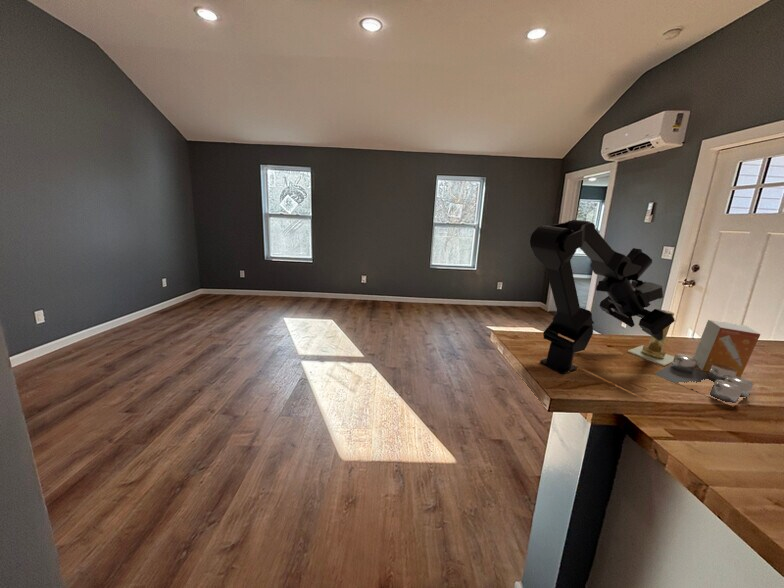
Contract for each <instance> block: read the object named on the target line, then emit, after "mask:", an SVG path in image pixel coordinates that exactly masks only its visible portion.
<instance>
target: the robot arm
mask: <svg viewBox="0 0 784 588" xmlns="http://www.w3.org/2000/svg"><path fill="white" fill-rule="evenodd" d="M529 244H530V248H531V250H532V252H533V254H534V256H535V258H537V259H538V261H539V262H540V263H542V265H543V266H544V267H545V270H546V272H547V273H546V274H547V279H548V281H549V286H550V289H551V292H552V297H553V300H554V304H555V307H556V308H555V309H556V312H555V314H554V316H553V317H552V321H551V323H550V324H548V326H547V327H546V329H544V331H543V332H542V333H543V340H547V341H549V342H550V344H549V348H548V351H547V352H548V353H547V356H546V358H543V359H541V360H539V363H541V364H543V365H544V366H546V367H547V368H550V369H552V370H553V371H556V372H557V371H558V372H557V373H559V372H560V374H561V373H564V374H566V373H565V372H567V373H569V372H568V371H570V372H572V371H571V370H573V371H575V370H577V368H578V366H576V365H574V364H573V361H574V356H575V354H576V353H577V352H582V351H586V348H587V346H588V344H589V342H590V340H591V338H592V337H593V334H594V329H593V328H594V326H593V324H595V322H594V321H593V314H592V312H591V310H588V309H586V308H582V307H581V306H580V301H579V297H578V292H577V287H576V282H575V279H574V278H575V277H574V274H573V273H574V272H573V268H572V265H571V260H572V259H573V257H574V255H575V253H576V252H577V249H580V250H581V251H582V252H583V253H584V254H585V255H586V256H587V257H588V258H589V260H590V264H589V266H590V268H591V270H592V272H593V273H594V275H597V276H600V277H601V276H602V277H603V278H602V279H601V280H599V281H598V282H597V285H596V286H595V287H596V288H595V290H596V291H597V292H603V293H607V296H606V297H605V298H604V299H603V300H601V301H600V303H599V308H600V309H601V311H603V312H605V313H606V314H608V315H609V316H612V317H613V318H614V319H617V320H618V321H620V322H622V323H623V324H625V325H626V326H628V327H630V328H633V327H634V326H635V322H634V319H633V317H635V316H636V317H638V318H640V319H639V322H638V326H639V327H640V328H641V331H643V332H644V333H646V334H648V335H649V336H650V337H654V338H655V339H657V340H658V341H660V340H662V339H663V329H664V328H666V327H667V326H669V325H670V324H671V325H672V324H673V323H674V322H676V320H675V317H674V316H673V315H672V314H671V313H668V312H666V311H667V310H665V311H663V310H664V309H663V310H662V309H660V308H654V309H653V310H648V307H650V305H651V302H653V301H656V300H658V299H659V300H660V299H663V298H664V290H663V286H662V285H660V284H657V283H655V282H654V283H653V282H649V281H648V282H647V281H643V280H641V279H639V278H640V277H641V276H643V274H644V273H645V272H646V271H647V270H648V268H649V267H651V266H652V264H653V259H652V258H651V257H650V256H649V255H648V254H647V253H645V252H643V251H642V249H641V248H636V247H633V248H632V249H630V251H629V253H628V254H627V255H626V254H623V253H621V252H618V251H615V250H614V249H613V248H612V247H611V246H610V245H609V243H608V242H607V241H606V239H605V238H603V236H602V234H600V232H598V230H597V229H596V225H595V223H594V222H592V221H588V220H579V219H572V220H568V221H565V222H561V223H555V224H554V223H553V224H549V225H544V224H543V225H539V226H537V228H536V229H535V230H534V231H533V232H532V233H531V235H530V238H529ZM645 308H647V309H645ZM671 325H670V326H671ZM567 338H568V339H567ZM569 339H570V340H569ZM574 369H575V370H574Z"/></svg>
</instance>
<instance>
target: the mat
mask: <svg viewBox="0 0 784 588" xmlns="http://www.w3.org/2000/svg"><path fill="white" fill-rule="evenodd" d="M671 365H672V364H669V365H667V366H665V367H664V368H662V369H660V370H657V371H656V372H654V373H653V375H654V376H656V377H660V378H661V379H665V380H666V381H669V382H671V383H674V384H676V385H678V384H677V383H679V382H684V383H685V382H686V383H687V382H689V381H691V382H692V381H693V382H695V381H696V383H697V382H701V380H703V379H704V380H705V379H708V378H707V376H708V374H709V372H706V371H702V370H701V369H697V368H694V371H693V373H692V374H686V373H682V372H679V371H677V370H675V369H673V368H672V367H671Z"/></svg>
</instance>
